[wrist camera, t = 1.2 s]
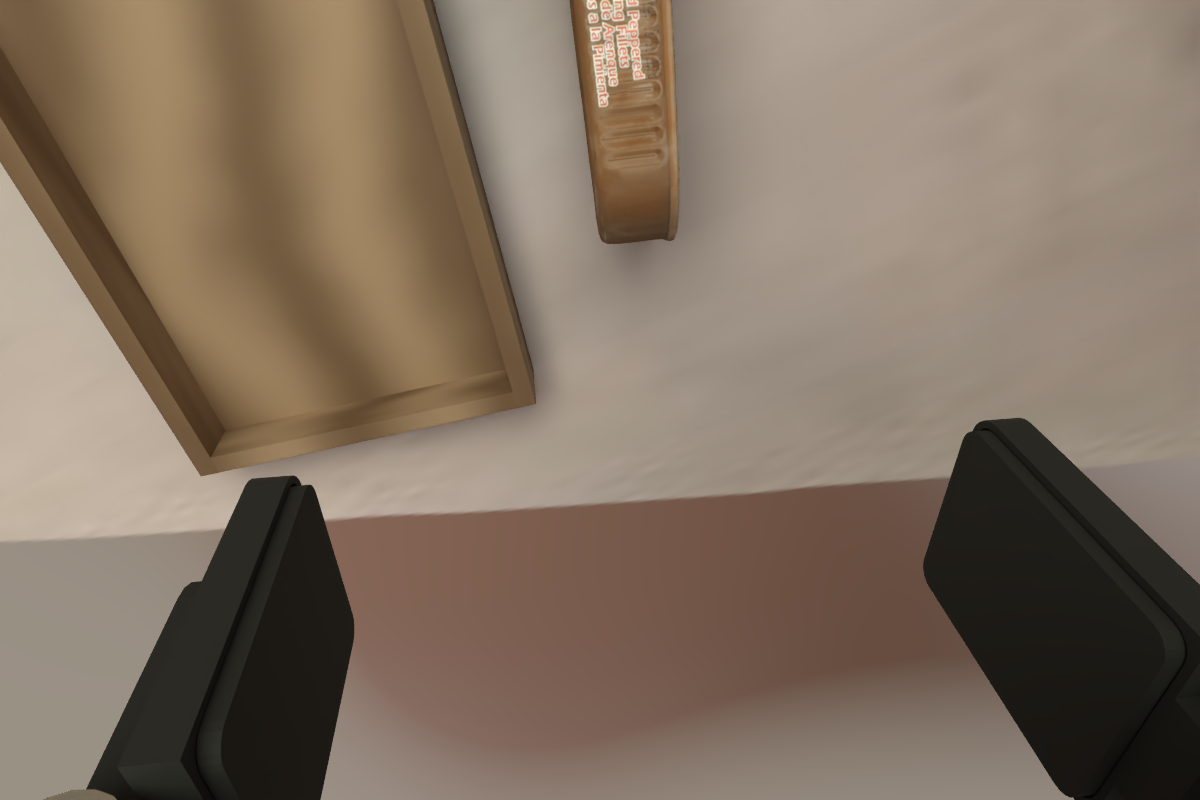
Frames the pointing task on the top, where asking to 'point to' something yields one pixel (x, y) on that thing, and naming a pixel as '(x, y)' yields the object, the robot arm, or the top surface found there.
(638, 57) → the tin
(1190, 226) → the top surface
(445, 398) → the walnut tray
